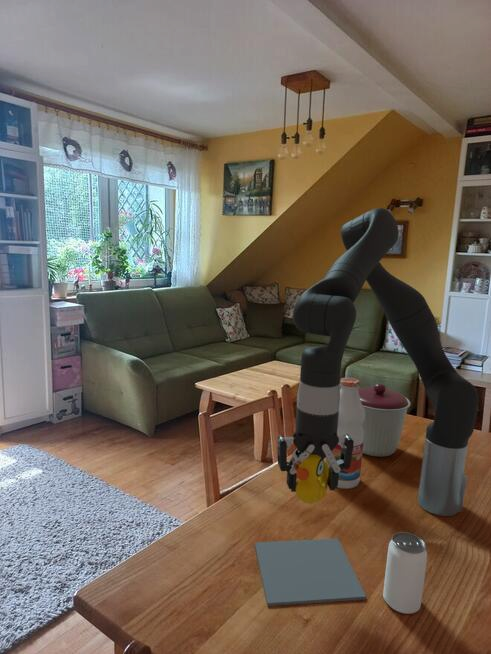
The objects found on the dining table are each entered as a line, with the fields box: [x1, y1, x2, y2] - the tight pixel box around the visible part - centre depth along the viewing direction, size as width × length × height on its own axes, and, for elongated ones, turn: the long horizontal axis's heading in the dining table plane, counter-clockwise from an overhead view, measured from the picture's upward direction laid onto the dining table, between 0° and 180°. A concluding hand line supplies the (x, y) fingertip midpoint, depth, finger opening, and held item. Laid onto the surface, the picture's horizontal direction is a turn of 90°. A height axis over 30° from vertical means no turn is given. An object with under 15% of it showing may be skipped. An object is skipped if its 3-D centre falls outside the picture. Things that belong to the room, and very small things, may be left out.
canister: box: [358, 382, 411, 458], centre depth 139 cm, size 18×18×21 cm
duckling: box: [295, 455, 329, 505], centre depth 85 cm, size 11×5×10 cm, turn 147°
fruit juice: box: [324, 377, 365, 490], centre depth 120 cm, size 9×9×28 cm
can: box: [382, 531, 428, 615], centre depth 81 cm, size 6×6×12 cm
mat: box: [254, 538, 367, 607], centre depth 89 cm, size 18×16×1 cm
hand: (312, 488), depth 86 cm, fingers closed on duckling, 7 cm apart
